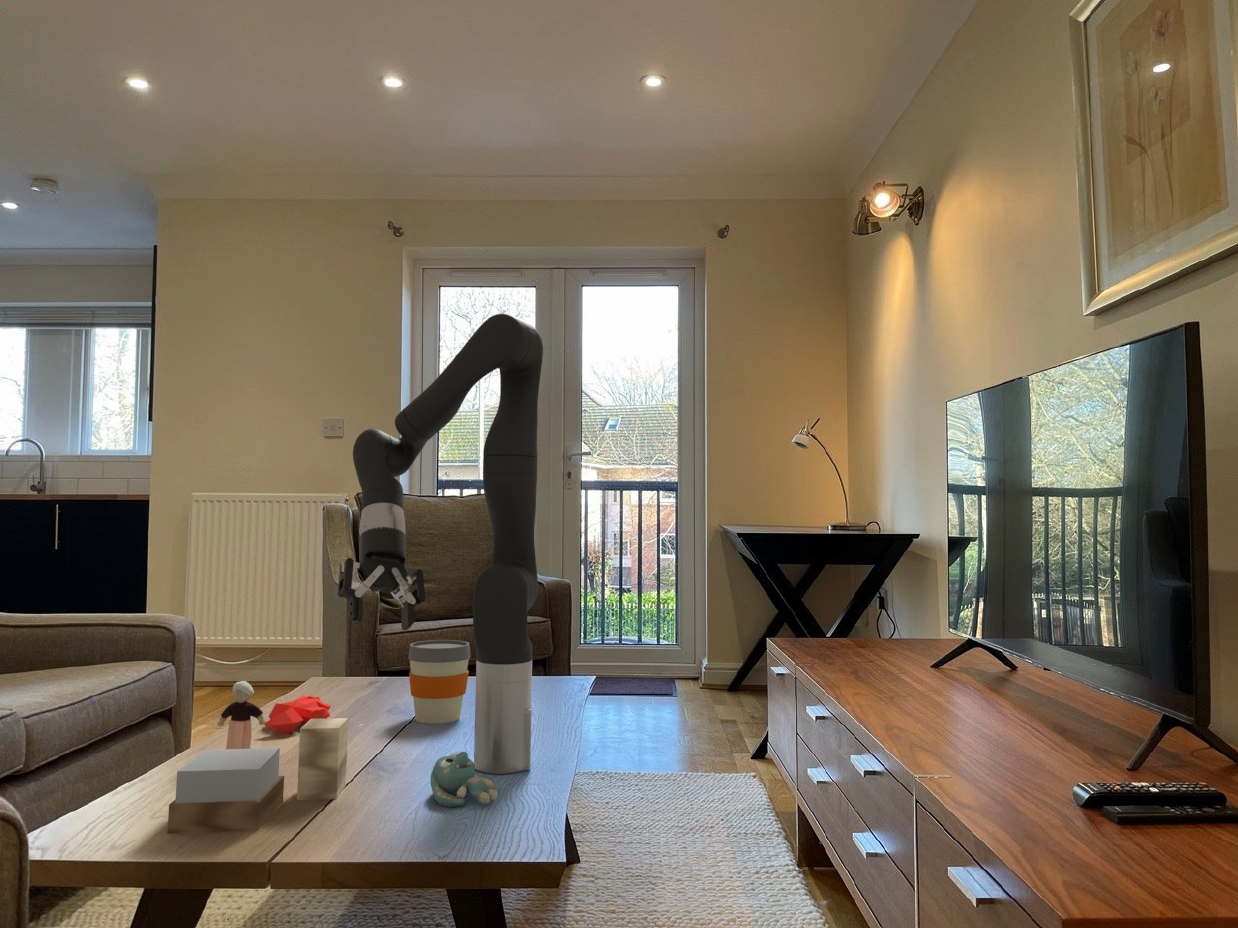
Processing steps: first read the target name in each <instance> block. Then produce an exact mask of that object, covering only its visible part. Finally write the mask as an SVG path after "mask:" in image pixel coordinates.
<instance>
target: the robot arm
mask: <svg viewBox="0 0 1238 928" xmlns="http://www.w3.org/2000/svg"><path fill="white" fill-rule="evenodd" d="M543 356H544V344H543V340H542V337H541V334H540V333H539V331H538V330H537V328H536V327H534V326H533V325H532V324H530V323H529V322H527V321H526V320H525V321H524V320H522V319H521V318H518V317H516V316H514V315H512V314H509V313H502V312H501V313H497V314H493V315H492V316H490V317H488V318H487V319H485V321H483V323H482V324H481V325H480V326H479V327H478V328H477V329H476V330H475V332H474V333H473V334H472V335H471V337H470V338H469V339H468V341H467V342H466V343H465V344H464V345H463V347H462V348H461V349H460V350H459V352H458V353H457V354H456V355H455V357H453V359H452V360H451V361H450V362H449V364H448V365H447V366H446V367H445V368H444V370H443V371H442V372H441V373H440V374H439V376H437V377H436V378H435V380H434V381H433V382H432V383H430V385H429V386H428V387H426V389H424V391H422V393H420V394H418V396H416V398H414V399H413V400H412V401H411V402H410V403H408V404H407V405H406V406H405V408H403V409H402V410H401V411H399V413H398V414H397V415H396V417H395V419H394V426H395V429H396V431H397V432H398V434H399V435H400V436H401V437H399V438H396V437H395V436H394V437H393V436H392V435H390V434H388V433H386V432H384V431H382V430H380V429H377V428H368V429H366V430H363V431H362V432H361V433H360V434H359V435H358V436H357V438H356V439H355V442H354V444H353V446H352V447H353V449H352V461H353V465H354V469H355V472H356V476H357V480H358V483H359V487H360V488H361V494H362V495H361V515H360V516H361V517H360V520H359V528H358V529H359V530H358V531H359V556H358V557H359V562H357V561H354V558H351V557H348V558H347V559H345V560H344V561H343V562H342V563H341V564H340V565H339V573H338V574H339V575H338V587H337V596H338V597H339V598H345V599H347V600H348V601H349V603H348V604H349V608H348V609H349V611H348V614H349V615H348V617H349V620H350V621H351V622H352V623H351V624H353V625H359V624H360V623H362V621H363V612H364V611H363V606H364V605H363V603H364V602H363V601H364V598H362V596H363V595H364V594H365V592H367V590H368V589H369V590H370V591H371V592H373V593H376V592H377V593H378V592H381V593H383V594H391V595H392V597H393V598H394V599H395V600H397V601H398V603H400V606H401V607H402V608H401V611H400V612H401V613H400V614H401V617H400V618H401V630H402V631H407V630H409V629H410V628H411V627H412V626H413V625H414V623H415V608H417V607H418V606H420V605H422V604H423V603H424V602H425V601H426V592H425V581H424V580H425V579H424V572H423V571H424V570H422V569H419V568H418V569H417V570H408V569H407V567H406V558H407V554H406V548H407V547H406V546H407V545H406V519H405V513H404V489H403V484H401V482H400V481H399V480H398V479H397V477H400V476H402V475H404V474H406V472H408V470H409V469H410V468H411V467H412V466H413V463H414V462H415V460H416V459H417V457H418V455H420V452H421V451H422V450H423V449H424V447H425V445H426V444H427V442H428V441H429V440H431V439H432V438H433V437H434V436H435V435H436V434H437V433H439V432H440V431H441V430H442V429H444V428H445V426H446V425H448V424H449V423H450V422H451V421H452V420H453V419H454V417H456V414H458V411H459V410H460V408H461V406H462V404H463V403H464V401H465V399H466V397H467V396H468V394H469V392H470V391H471V390H472V388H473V387H474V386H475V385H476V384H477V383H478V382H479V381H480V380H482V379H483V378H485V377H486V376H487V375H489V374H490V373H492V372H493V371H495V370H497V369H499V378H500V381H499V383H500V384H499V386H500V387H499V388H500V390H499V391H500V392H499V403H498V407H497V410H496V413H495V416H494V418H493V421H492V422H491V425H490V427H489V430H488V433H487V434H486V438H485V440H484V444H483V453H482V455H483V456H482V457H483V459H482V483H483V484H482V485H483V493H484V498H485V503H486V506H487V511H488V515H489V519H490V523H491V528H492V537H493V538H492V540H493V541H492V542H493V543H492V558H491V565H490V566H488V567H487V568H485V569H483V571H481V572H480V573H479V575H478V577H477V578H476V581H475V583H474V588H473V595H472V635H473V636H472V637H473V644H474V647H475V650H476V662H475V663H476V665H475V671H476V672H475V702H474V703H475V705H474V706H475V707H474V742H473V744H474V747H473V763H474V764H475V770H477V771H479V772H482V773H488V774H497V775H498V774H512V773H517V772H522V771H530V770H531V753H532V751H531V750H532V748H531V747H532V746H531V745H532V744H531V743H532V689H533V686H532V685H533V684H532V683H533V681H532V680H533V644H532V642H531V640H530V638H529V633H528V631H529V630H528V612H529V610H530V609H531V608H532V607H533V606H534V604H535V601H537V600H536V599H537V597H538V593H539V580H538V569H537V558H536V557H537V556H536V545H535V523H536V509H537V485H538V419H539V418H538V416H539V415H538V413H539V412H538V411H539V410H538V409H539V408H538V402H539V391H540V381H541V374H542V367H543V366H542V364H543ZM356 572H357V574H358V575H359V577H360V578H361V580H362V581H361V582H360V583H359V584H358V585H357V587H356V588H355V589H353V588H352V586H353V575H354V574H355V573H356ZM405 579H407V581H408V582H406V581H405ZM407 583H408V584H409V585H410V587H409V585H408V584H407Z"/></svg>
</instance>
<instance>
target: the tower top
mask: <svg viewBox="0 0 1238 928" xmlns="http://www.w3.org/2000/svg"><path fill="white" fill-rule="evenodd" d="M280 751H281V748H280V747H270V748H269V747H267V748H266V747H265V748H264V747H263V748H262V747H261V748H250V749H226V748H225V749H222V748H221V749H204V750H203V751H202V752H201V753H199V754H198V755H196V756H195V757H194V758H193V759H191V760H189V761H188V763H186V764H184V766H182V767H181V768H180V769H178V770H177V771H176V785H175V799H176V800H175V799H174V800H175V803H202V802H231V801H258V800H259V798H260V797H261V796H262V795H263V794H264V793H265V792H266V790H267V789H268V788H269V787H270V786H271V785H272V784H273V782H274V781H275V780H276V779H277V778H278V776H280V774H279V772H280V771H279V769H280Z"/></svg>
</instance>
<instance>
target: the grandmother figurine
mask: <svg viewBox="0 0 1238 928" xmlns="http://www.w3.org/2000/svg"><path fill="white" fill-rule="evenodd" d="M232 693H233V700H234V701H233V702H231V703H230V704H229V705H227V706H226V707H225V709H224V710H223V711H222V713H221V715H220V717H219V721H218V722H217V726H218V727H223V726H224V725H225V722H226V721H227V720H228V719H229V717H230V720H229V723H228V729H227V738H226V747H225V749H251V742H252V719H251V717H252V718H255V719H257V720H258V723H259V725H261V726H265V725H264V724H265V722H267V721H266V719H264V718H265V716H264V714H263V713H264V711H263V710H261V709H260V707H258V706H257V705H256V704H254V703H252V702H250V701H249V699H250V697H251V696H252V695H254V693H255V691H254V688H253V687H252V685H251V683H249V682H247V681H246V680H242V681H237V682H235V683H234V684H233V686H232Z"/></svg>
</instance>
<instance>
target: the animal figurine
mask: <svg viewBox="0 0 1238 928" xmlns="http://www.w3.org/2000/svg"><path fill="white" fill-rule="evenodd" d="M330 709H331V705H330V704H327V703H324V702H323V701H321V699H320V697H319V696H313V695H301V696H299V697H297V698H296V699H294V700H291V701H287V702H283V703H275V704H274V705H273V707H272V709H271V712H269V714H268V717H269V720H267V721H266V722H265V724H264V725H263V726H265V727H267V728H269V729H271V730H274V731H276V732H279V733H283V734H292V733H293V732H294V731H295V730H296V729H297V728H298V727H299V726H304V725H305V724H306V723H307V722H308V721H309V720H310V719H328V718H330V717H331V716H330V715H331V714H330V713H331V712H330V711H329V710H330Z"/></svg>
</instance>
